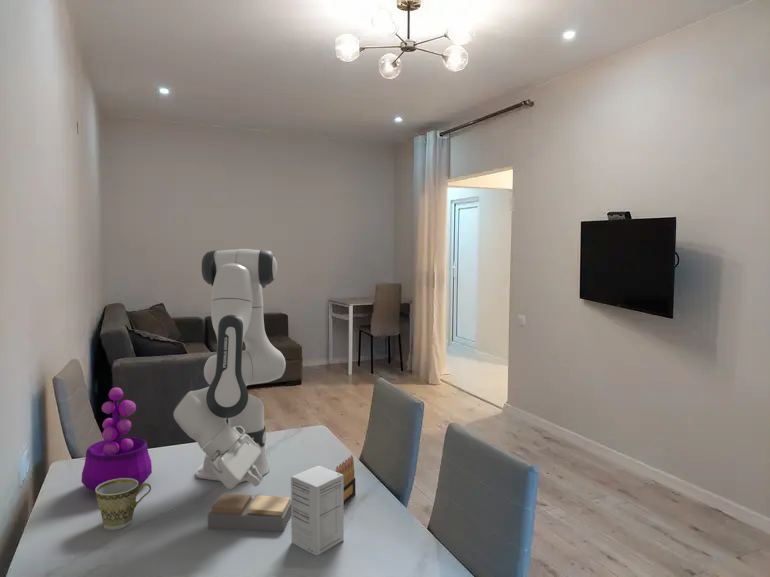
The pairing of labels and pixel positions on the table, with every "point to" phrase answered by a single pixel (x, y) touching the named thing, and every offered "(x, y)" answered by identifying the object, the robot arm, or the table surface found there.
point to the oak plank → (269, 505)
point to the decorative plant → (116, 448)
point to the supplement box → (317, 509)
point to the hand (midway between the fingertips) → (259, 482)
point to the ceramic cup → (118, 501)
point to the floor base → (244, 515)
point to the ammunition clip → (348, 478)
